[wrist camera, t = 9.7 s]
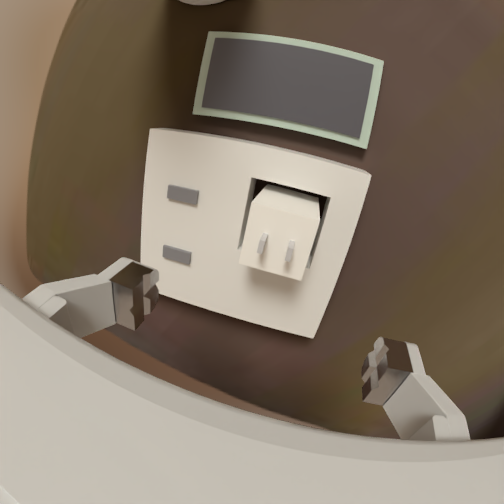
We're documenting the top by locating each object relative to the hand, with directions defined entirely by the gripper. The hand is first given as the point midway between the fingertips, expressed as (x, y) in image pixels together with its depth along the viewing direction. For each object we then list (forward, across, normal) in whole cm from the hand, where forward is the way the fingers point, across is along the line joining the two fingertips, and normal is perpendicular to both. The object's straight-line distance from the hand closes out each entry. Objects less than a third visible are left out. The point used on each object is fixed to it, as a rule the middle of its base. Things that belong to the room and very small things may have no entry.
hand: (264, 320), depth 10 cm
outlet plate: (+14, +4, +3) cm, 14 cm away
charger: (+14, +1, +1) cm, 14 cm away
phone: (+14, +3, -9) cm, 17 cm away
